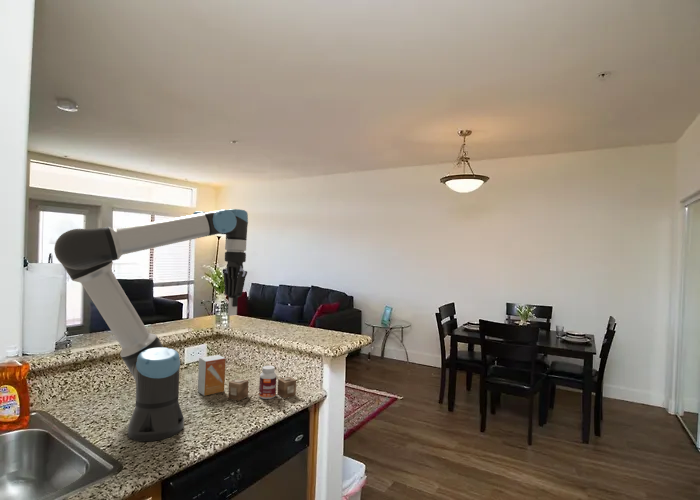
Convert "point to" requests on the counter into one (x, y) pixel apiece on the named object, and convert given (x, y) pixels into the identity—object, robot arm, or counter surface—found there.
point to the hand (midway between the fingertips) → (232, 315)
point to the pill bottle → (267, 383)
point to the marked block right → (286, 387)
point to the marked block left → (238, 389)
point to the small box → (211, 375)
